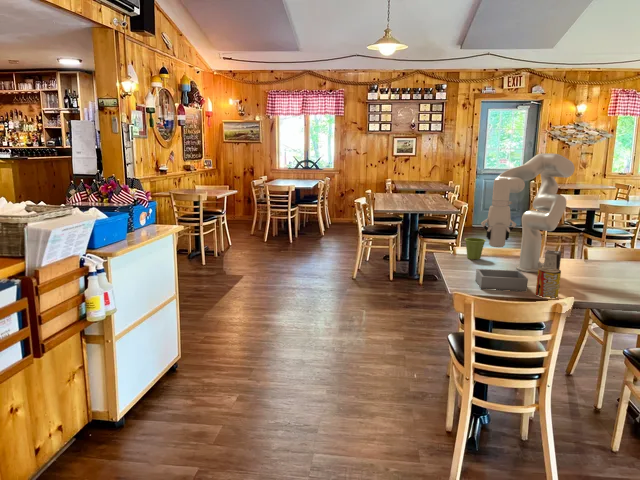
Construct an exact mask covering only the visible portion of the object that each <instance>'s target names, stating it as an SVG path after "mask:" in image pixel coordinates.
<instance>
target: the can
mask: <svg viewBox="0 0 640 480" xmlns="http://www.w3.org/2000/svg"><path fill="white" fill-rule="evenodd" d="M490 232H491V235H490V240H488V245H489V246H490V247H491V248H492V247H493V248H504V246H506V241H507V240H506V226H505V225H504V223H502V224H499V223H495V225H494V226H492V228H491V230H490Z"/></svg>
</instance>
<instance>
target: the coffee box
mask: <svg viewBox="0 0 640 480" xmlns="http://www.w3.org/2000/svg"><path fill="white" fill-rule="evenodd" d="M561 260H562V250H552V249H551V250H550V249H547V250H546V251H545V253H544V262H543V263H544V267H549V268H555V269H559V270H561V268H560V267H561Z"/></svg>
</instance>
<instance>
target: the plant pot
mask: <svg viewBox="0 0 640 480" xmlns="http://www.w3.org/2000/svg"><path fill="white" fill-rule="evenodd" d="M463 240H464V241H465V247H466V257H467V259H469V260H473V261H474V260H477V261H478V260H481V257H482V253H483V250H484V245H485V242H486V241H487V240H486V239H485V238H480V237H479V238H478V237H465V238H464V239H463Z"/></svg>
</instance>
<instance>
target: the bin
mask: <svg viewBox="0 0 640 480" xmlns="http://www.w3.org/2000/svg"><path fill="white" fill-rule="evenodd" d="M475 270H476V271H475V282H476V284H477V285H479V286H478V287H479V289H480V288H481V289H480V290H483V289H496V290H495V291H503V290H510V291H509V292H522V291H527V290H528V283H529V278H527V276H526V275H524V274H523V273H522V271H521V270H513V269H512V270H511V269H509V270H508V269H488V268H476V269H475Z"/></svg>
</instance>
